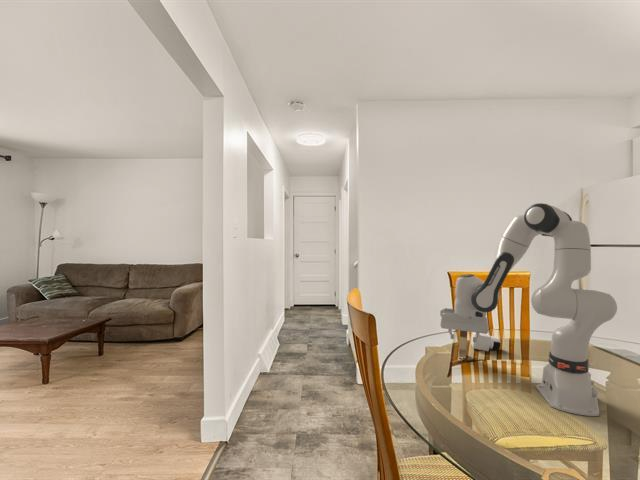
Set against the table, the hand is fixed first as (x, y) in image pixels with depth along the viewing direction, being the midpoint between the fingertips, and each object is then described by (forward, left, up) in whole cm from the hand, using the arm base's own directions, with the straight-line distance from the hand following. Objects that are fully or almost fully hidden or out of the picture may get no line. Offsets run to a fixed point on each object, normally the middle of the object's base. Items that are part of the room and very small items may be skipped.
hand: (463, 340), depth 167 cm
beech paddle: (0, 0, -8) cm, 8 cm away
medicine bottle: (+15, -4, -4) cm, 16 cm away
